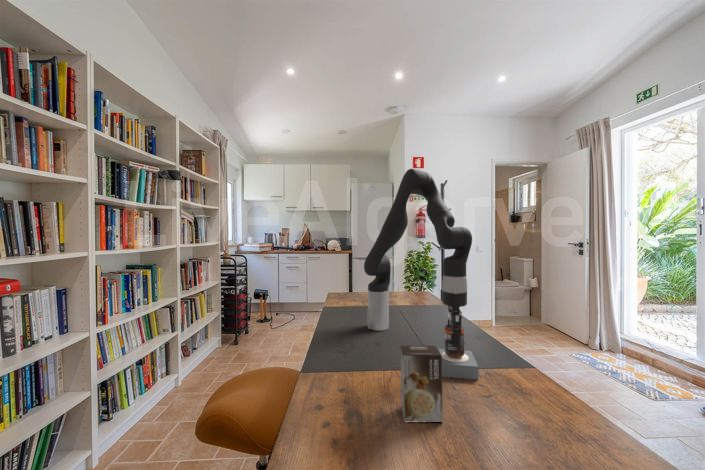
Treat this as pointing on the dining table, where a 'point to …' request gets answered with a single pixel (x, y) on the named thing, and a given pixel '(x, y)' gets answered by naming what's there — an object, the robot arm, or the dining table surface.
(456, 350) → the supplement bottle
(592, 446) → the dining table surface
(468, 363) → the base block
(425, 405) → the coffee box
